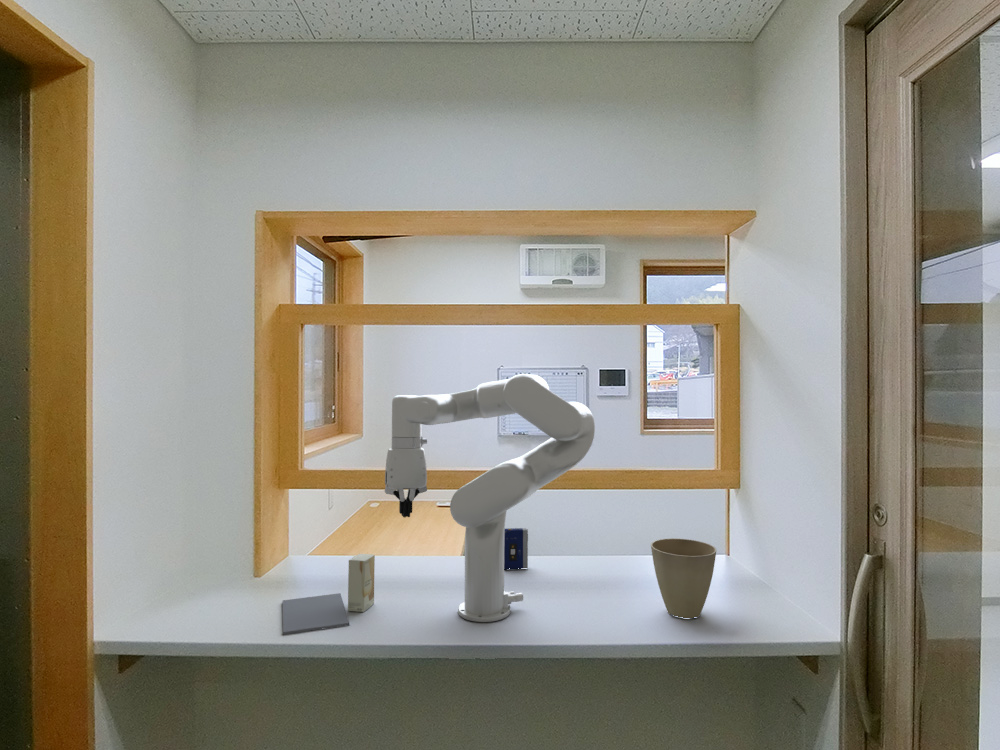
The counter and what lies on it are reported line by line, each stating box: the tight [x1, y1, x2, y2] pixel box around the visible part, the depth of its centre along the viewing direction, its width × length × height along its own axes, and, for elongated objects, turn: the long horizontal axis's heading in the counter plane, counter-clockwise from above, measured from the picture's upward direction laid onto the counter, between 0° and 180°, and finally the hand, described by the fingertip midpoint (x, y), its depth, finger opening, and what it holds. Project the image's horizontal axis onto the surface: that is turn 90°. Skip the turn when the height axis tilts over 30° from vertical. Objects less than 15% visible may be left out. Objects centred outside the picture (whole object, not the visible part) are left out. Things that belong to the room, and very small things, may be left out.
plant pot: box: [650, 537, 717, 618], centre depth 135 cm, size 15×15×16 cm
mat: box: [282, 592, 350, 636], centre depth 135 cm, size 14×20×1 cm
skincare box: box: [347, 553, 376, 613], centre depth 139 cm, size 6×4×12 cm
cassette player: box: [504, 527, 529, 569], centre depth 169 cm, size 7×2×12 cm, turn 95°
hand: (405, 516), depth 143 cm, fingers closed
